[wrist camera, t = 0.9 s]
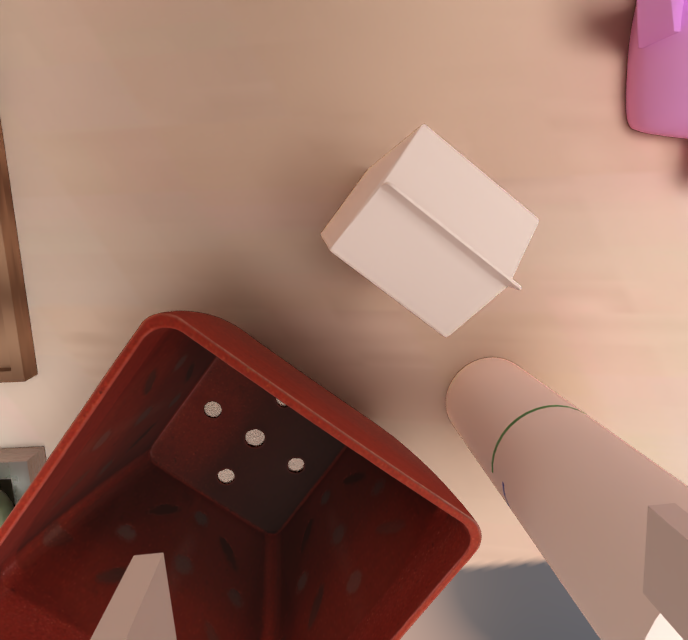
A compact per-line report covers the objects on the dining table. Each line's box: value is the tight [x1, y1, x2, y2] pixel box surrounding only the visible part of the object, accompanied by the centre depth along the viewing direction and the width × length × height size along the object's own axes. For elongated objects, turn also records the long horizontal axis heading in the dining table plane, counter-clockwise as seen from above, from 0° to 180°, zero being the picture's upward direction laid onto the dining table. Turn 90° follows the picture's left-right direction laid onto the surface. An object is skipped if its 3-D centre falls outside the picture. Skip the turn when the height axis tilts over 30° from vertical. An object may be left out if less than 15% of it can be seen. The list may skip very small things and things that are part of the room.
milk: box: [320, 124, 539, 337], centre depth 28 cm, size 6×6×22 cm
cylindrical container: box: [446, 357, 688, 640], centre depth 30 cm, size 7×7×25 cm
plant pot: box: [0, 311, 482, 640], centre depth 33 cm, size 19×19×17 cm
